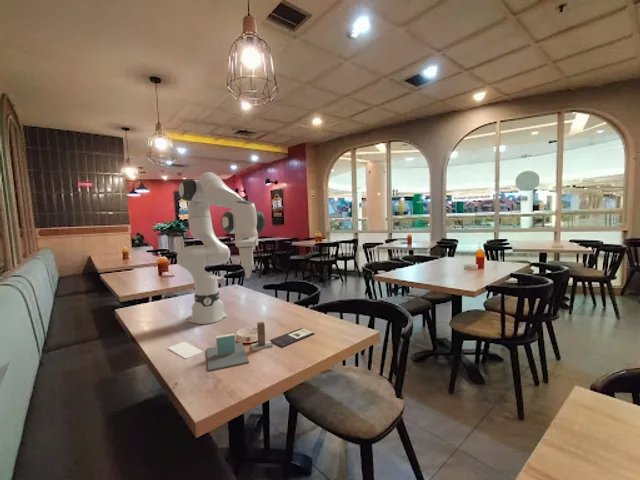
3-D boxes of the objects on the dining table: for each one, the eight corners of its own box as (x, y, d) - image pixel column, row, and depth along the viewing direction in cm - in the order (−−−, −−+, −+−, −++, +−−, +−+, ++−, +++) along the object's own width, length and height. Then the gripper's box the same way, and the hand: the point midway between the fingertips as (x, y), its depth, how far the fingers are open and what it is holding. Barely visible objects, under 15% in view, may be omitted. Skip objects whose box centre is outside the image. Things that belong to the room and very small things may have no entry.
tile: (216, 353, 116) (215, 336, 116) (235, 350, 119) (234, 333, 118) (216, 355, 115) (215, 338, 114) (235, 352, 117) (234, 334, 117)
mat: (206, 349, 121) (206, 348, 121) (242, 343, 127) (242, 342, 127) (208, 371, 105) (208, 369, 105) (248, 362, 110) (248, 361, 110)
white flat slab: (185, 358, 114) (167, 347, 123) (185, 360, 114) (167, 349, 124) (203, 351, 120) (184, 341, 129) (203, 353, 120) (184, 343, 129)
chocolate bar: (269, 340, 128) (301, 328, 141) (269, 342, 128) (301, 330, 141) (282, 346, 122) (314, 333, 134) (282, 348, 122) (314, 335, 134)
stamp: (251, 346, 124) (249, 323, 123) (270, 343, 127) (269, 319, 126) (252, 350, 120) (251, 326, 119) (272, 346, 123) (271, 323, 122)
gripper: (240, 240, 129) (242, 273, 130) (236, 242, 109) (238, 280, 110) (255, 240, 130) (257, 272, 131) (254, 242, 110) (256, 279, 111)
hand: (248, 276), depth 120 cm, fingers open, 8 cm apart
